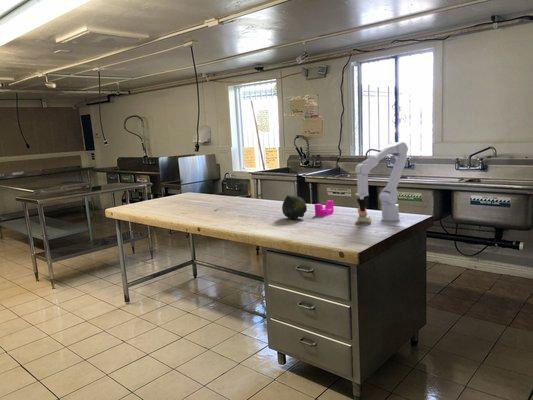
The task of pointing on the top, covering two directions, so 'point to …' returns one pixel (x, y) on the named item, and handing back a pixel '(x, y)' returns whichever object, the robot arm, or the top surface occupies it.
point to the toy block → (324, 209)
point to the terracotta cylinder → (362, 212)
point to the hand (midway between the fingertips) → (363, 209)
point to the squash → (294, 207)
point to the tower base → (363, 222)
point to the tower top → (364, 219)
